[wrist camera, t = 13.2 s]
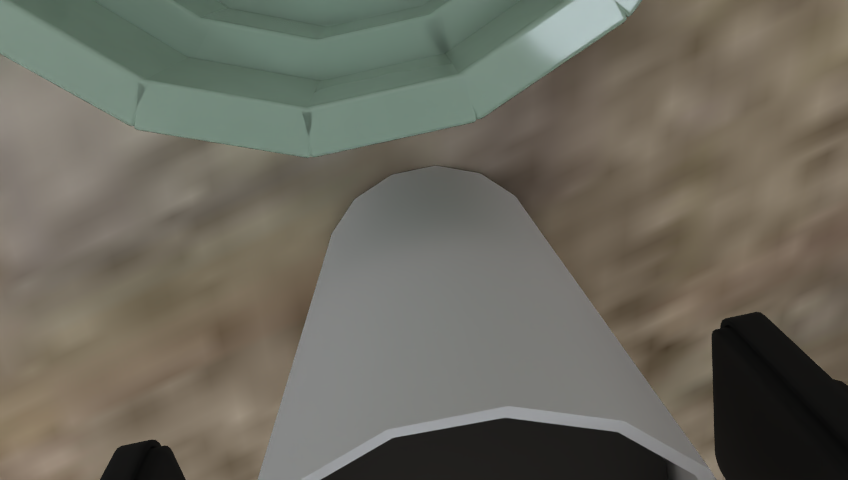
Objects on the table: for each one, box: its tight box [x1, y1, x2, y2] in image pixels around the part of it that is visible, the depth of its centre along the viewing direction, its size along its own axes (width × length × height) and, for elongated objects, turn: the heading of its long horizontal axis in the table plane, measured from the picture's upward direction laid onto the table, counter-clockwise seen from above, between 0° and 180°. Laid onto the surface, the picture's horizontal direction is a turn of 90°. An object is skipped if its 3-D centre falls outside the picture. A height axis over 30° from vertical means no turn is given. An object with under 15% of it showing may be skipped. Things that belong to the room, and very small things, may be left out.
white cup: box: [258, 166, 716, 480], centre depth 13 cm, size 7×7×10 cm
